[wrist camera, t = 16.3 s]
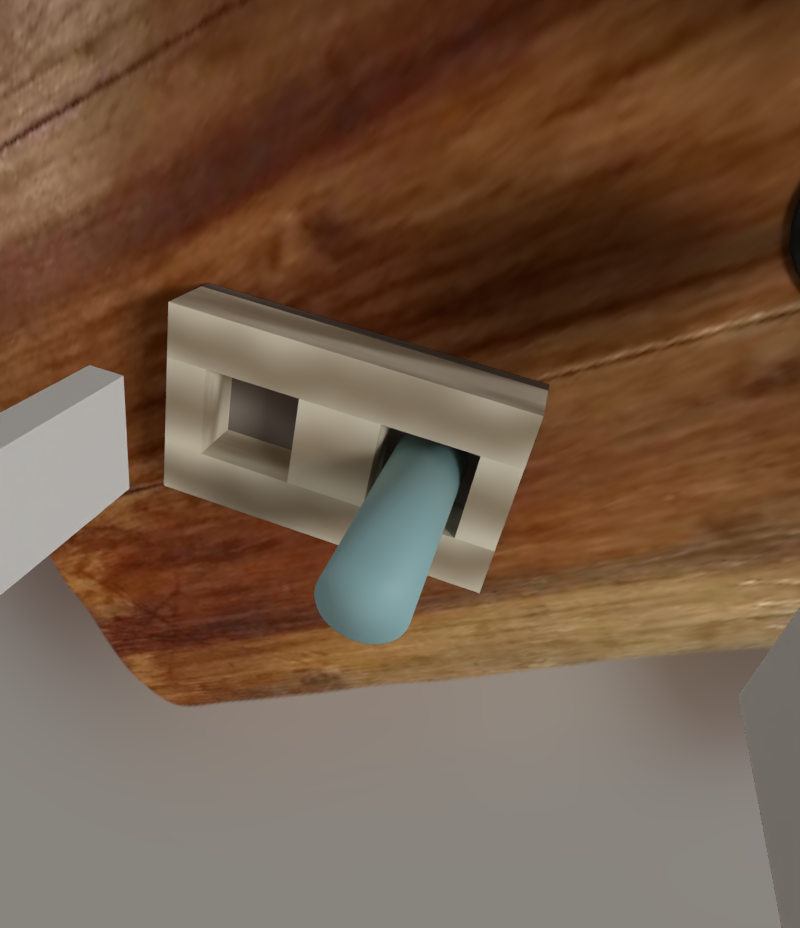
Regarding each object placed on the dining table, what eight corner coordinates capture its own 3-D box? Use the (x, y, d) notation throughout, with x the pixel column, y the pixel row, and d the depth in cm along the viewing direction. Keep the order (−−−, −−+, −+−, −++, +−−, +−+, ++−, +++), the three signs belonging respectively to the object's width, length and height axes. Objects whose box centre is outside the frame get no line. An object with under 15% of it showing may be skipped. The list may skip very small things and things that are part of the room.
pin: (405, 413, 45) (321, 550, 32) (476, 435, 45) (421, 584, 31) (391, 474, 48) (308, 624, 34) (458, 495, 47) (400, 656, 34)
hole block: (208, 282, 46) (168, 301, 41) (549, 384, 43) (543, 416, 39) (198, 454, 53) (163, 485, 49) (489, 551, 50) (479, 593, 46)
